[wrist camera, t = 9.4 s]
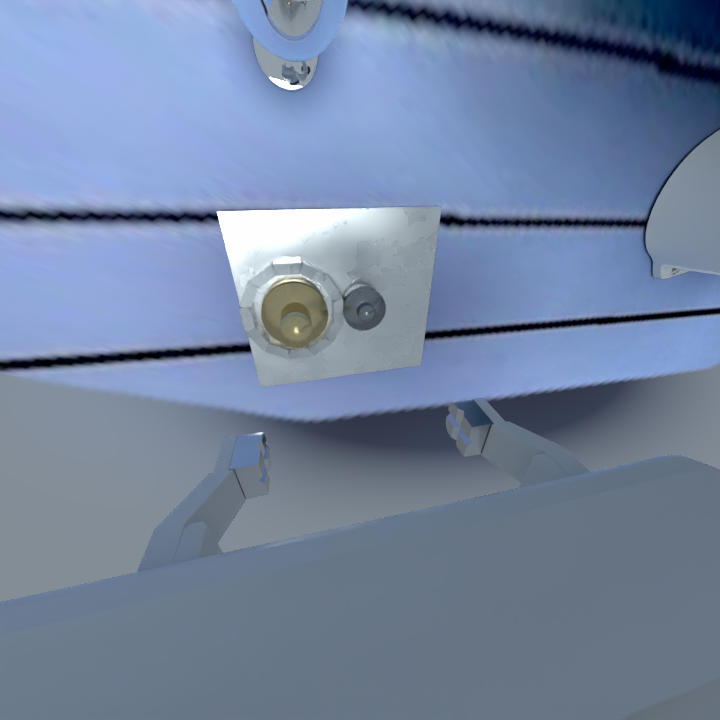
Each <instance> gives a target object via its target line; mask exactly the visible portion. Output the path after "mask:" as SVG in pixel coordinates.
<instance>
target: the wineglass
mask: <svg viewBox="0 0 720 720" xmlns="http://www.w3.org/2000/svg"><path fill="white" fill-rule="evenodd" d="M232 2H233V4H234V6H235V8H236V10H237V13H238V14H239V16H240V18H241V19H242V21H243V23H244V24H245V26H246V27H247V29H248V30H249V32H250V33H251V35H252V36H253V46H254V51H255V55H256V58H257V61H258V63H259V65H260V67H261V69H262V71H263V72H264V74H265V75H266V76H267V78H268V79H269V80H270V81H271V82H272V83H273V84H274V85H276V86H278V87H279V88H281V89H284V90H287V91H297V90H300V89H302V88H304V87H305V86H307V85H308V83H309V82H310V81H311V80H312V78H313V76H314V74H315V71H316V68H317V62H318V55H320V54H321V53H322V52H323V51H324V50H325V49H326V48H327V47H328V46H329V44H330V43H331V42H332V40H333V39H334V38H335V36H336V34H337V32H338V30H339V28H340V26H341V23H342V20H343V18H344V15H345V12H346V8H347V4H348V0H232Z"/></svg>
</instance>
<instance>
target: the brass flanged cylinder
mask: <svg viewBox="0 0 720 720" xmlns="http://www.w3.org/2000/svg"><path fill="white" fill-rule="evenodd" d="M261 319H262V323H263V325H264V327H265V329H266V330H267V332H268V333H269V334H270V335H271V336H272V337H273V338H275V339H276V340H278V341H280V342H282V343H285V344H286V345H287V346H289V347H292V348H302V347H305V346H307V345H308V344H309V343H310V342H311V341H313V340H315V339H316V338H317V337H319V336H320V335H321V334H322V332H323V331H324V329H325V327H326V325H327V322H328V309H327V305H326V303H325V300H324V297H323V296H322V294H321V292H320V291H319V290H318V289H317V288H316V287H315V286H314V285H312V284H310V283H308V282H306V281H303V280H299V279H287V280H283V281H280V282H278V283H276V284H275V285H273V286H272V287H271V288H270V289H269V290H268V291H267V293H266V294H265V297H264V299H263V303H262V308H261Z"/></svg>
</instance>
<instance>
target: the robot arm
mask: <svg viewBox="0 0 720 720" xmlns="http://www.w3.org/2000/svg"><path fill="white" fill-rule="evenodd" d="M646 248H647V251H648V253H649V255H650V256H651V258H652V260H653V277H654V278H659V279H667V278H670V277H673V276H676V275H680V274H683V273H686V272H689V271H695V272H702V273H708V274H714V275H720V130H718V131H717V132H715V133H714V134H713V135H711V136H710V137H708V138H707V139H706V140H704V141H703V142H702V143H701V144H700V145H698V146H697V147H696V148H695V149H694V150H693V151H692V152H691V153H690V154H689V155H688V156H687V157H686V158H685V159H684V161H683V162H682V163H681V164H680V165H679V166H678V168H677V169H676V170H675V172H674V173H673V174H672V176H671V177H670V178H669V180H668V181H667V183H666V184H665V186H664V188H663V189H662V191H661V193H660V195H659V196H658V198H657V200H656V203H655V205H654V207H653V209H652V212H651V215H650V217H649V221H648V224H647V229H646ZM449 411H450V414H449V415H448V416H447V419H446V427H447V430H448V433H449V435H450V436H451V437H452V438H453V439H455V440H457V442H456V445H457V447H458V449H459V450H460V452H461V453H462V455H463V456H464V457H465V456H471V455H477V454H482V456H484V457H485V458H486V459H488V460H489V461H491V462H492V463H494V464H495V465H497V466H498V467H499V468H501V469H502V470H504V471H505V472H506V473H508V474H509V475H510V476H512V477H513V478H515V479H516V480H518V481H519V482H520V483H521V484H520V486H519V488H516V489H511V490H507V491H502V492H498V493H493V494H489V495H484V496H480V497H475V498H471V499H466V500H462V501H457V502H453V503H448V504H444V505H439V506H435V507H430V508H425V509H421V510H416V511H412V512H408V513H403V514H399V515H394V516H389V517H385V518H380V519H376V520H372V521H367V522H363V523H358V524H353V525H348V526H344V527H339V528H335V529H330V530H326V531H321V532H317V533H313V534H308V535H303V536H299V537H294V538H289V539H285V540H281V541H276V542H271V543H267V544H262V545H258V546H253V547H249V548H244V549H240V550H235V551H231V552H226V553H223V552H222V550H221V548H220V547H219V545H218V542H219V540H220V539H221V537H222V536H223V534H224V533H225V531H226V530H227V528H228V527H229V525H230V524H231V522H232V521H233V519H234V518H235V516H236V515H237V513H238V512H239V510H240V509H241V507H242V505H243V504H244V502H245V499H249V498H253V497H258V496H262V495H267V494H268V491H269V475H268V471H269V470H270V466H271V457H270V450H269V446H268V445H266V436H265V433H264V432H261V433H253V434H246V435H238V436H233V437H225V438H224V439H223V441H222V443H221V447H220V451H219V454H218V458H217V461H216V465H215V469H214V472H213V473H210V474H208V475H207V476H206V477H205V478H204V480H202V481H201V483H199V484H198V485H197V487H196V488H195V489H194V490H193V491H192V492H191V493H190V494H189V495H188V496H187V497H186V498H185V499H184V500H183V501H182V502H181V503H180V504H179V505H178V506H177V507H176V508H175V509H174V510H173V511H172V512H171V513H170V514H169V515H168V516H167V517H166V518H165V519H164V520H163V521H162V522H161V523H160V524H159V525H158V526H157V527H156V528H155V529H154V531H153V534H152V536H151V538H150V541H149V543H148V546H147V548H146V551H145V554H144V556H143V558H142V561H141V563H140V565H139V568H138V570H137V572H135V573H130V574H126V575H122V576H117V577H112V578H108V579H103V580H99V581H94V582H90V583H85V584H81V585H76V586H72V587H67V588H62V589H58V590H53V591H49V592H45V593H40V594H35V595H31V596H26V597H21V598H17V599H11V600H7V601H2V602H0V720H720V469H717V468H715V467H712V466H709V465H707V464H704V463H701V462H699V461H696V460H693V459H690V458H687V457H684V456H681V455H667V456H661V457H657V458H652V459H647V460H643V461H639V462H634V463H630V464H625V465H620V466H616V467H611V468H607V469H602V470H598V471H594V472H590V471H589V470H588V469H587V468H586V467H585V466H583V464H582V463H581V462H579V461H578V460H577V459H576V458H575V457H574V456H573V455H572V454H571V453H570V452H569V451H568V450H567V449H566V448H564V447H562V446H560V445H557V444H555V443H553V442H551V441H549V440H547V439H545V438H543V437H540V436H538V435H536V434H534V433H532V432H530V431H528V430H525V429H523V428H521V427H519V426H517V425H515V424H513V423H511V422H505V421H504V420H503V419H502V418H501V416H499V414H498V413H497V412H496V411H495V410H494V409H493V408H492V407H491V406H490V404H489V403H488V402H487V401H486V400H485V399H483V398H478V399H472V400H466V401H460V402H454V403H451V404H450V405H449Z"/></svg>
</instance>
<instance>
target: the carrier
mask: <svg viewBox="0 0 720 720" xmlns="http://www.w3.org/2000/svg"><path fill="white" fill-rule="evenodd" d="M217 214H218V218H219V222H220V226H221V230H222V234H223V238H224V242H225V246H226V250H227V254H228V258H229V262H230V266H231V270H232V274H233V278H234V282H235V286H236V290H237V294H238V298H239V302H240V304H239V311H240V315H241V319H242V323H243V327H244V331H245V332H246V334H247V335H248V338H249V342H250V346H251V350H252V354H253V358H254V362H255V366H256V370H257V374H258V378H259V382H260V386H261V387H266V386H274V385H281V384H288V383H295V382H302V381H310V380H317V379H324V378H331V377H338V376H346V375H353V374H360V373H367V372H375V371H382V370H389V369H396V368H403V367H411V366H418V365H421V361H422V354H423V346H424V338H425V330H426V323H427V315H428V307H429V300H430V292H431V284H432V276H433V269H434V261H435V253H436V245H437V238H438V230H439V222H440V214H441V206H412V207H367V208H321V209H275V210H229V211H217ZM287 279H299V280H303V281H306V282H308V283H310V284H312V285H314V286H315V287H316V288H317V289H318V290H319V291H320V292H321V294H322V296H323V297H324V300H325V303H326V305H327V309H328V322H327V325H326V327H325V329H324V331H323V332H322V334H321V335H320V336H319V337H317V338H316V339H315V340H313V341H311V342H310V343H309V344H308V345H307V346H305V347H302V348H292V347H289V346H287V345H286V344H285V343H282V342H280V341H278V340H276V339H275V338H273V337H272V336H271V335H270V334H269V333H268V332H267V330H266V329H265V327H264V325H263V323H262V319H261V308H262V303H263V299H264V297H265V294H266V293H267V291H268V290H269V289H270V288H271V287H272V286H273V285H275V284H276V283H278V282H280V281H283V280H287Z"/></svg>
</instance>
